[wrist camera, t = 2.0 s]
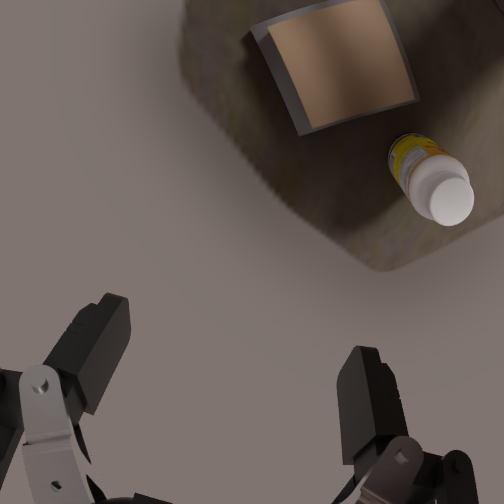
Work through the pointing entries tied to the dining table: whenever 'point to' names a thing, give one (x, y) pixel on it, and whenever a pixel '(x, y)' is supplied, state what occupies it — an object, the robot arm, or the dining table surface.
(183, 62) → the dining table surface
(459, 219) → the supplement bottle
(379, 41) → the pedestal
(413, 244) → the dining table surface
